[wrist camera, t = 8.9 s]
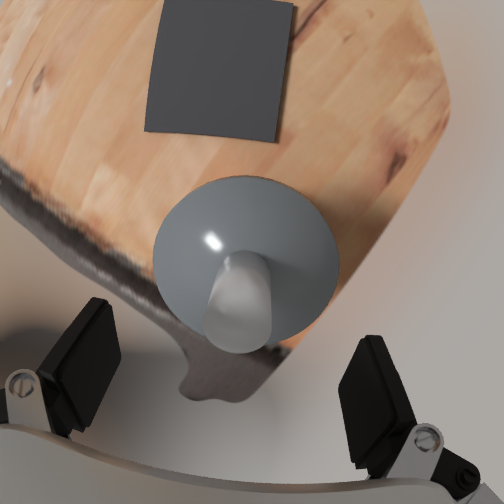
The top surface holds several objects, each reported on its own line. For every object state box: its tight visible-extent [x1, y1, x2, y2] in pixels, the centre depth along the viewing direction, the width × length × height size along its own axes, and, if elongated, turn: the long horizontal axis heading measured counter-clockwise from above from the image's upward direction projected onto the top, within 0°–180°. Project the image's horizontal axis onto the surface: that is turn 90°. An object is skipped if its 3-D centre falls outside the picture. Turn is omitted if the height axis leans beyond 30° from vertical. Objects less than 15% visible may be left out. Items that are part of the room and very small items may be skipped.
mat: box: [144, 0, 294, 143], centre depth 22 cm, size 14×12×1 cm
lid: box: [153, 175, 339, 353], centre depth 15 cm, size 11×11×6 cm
